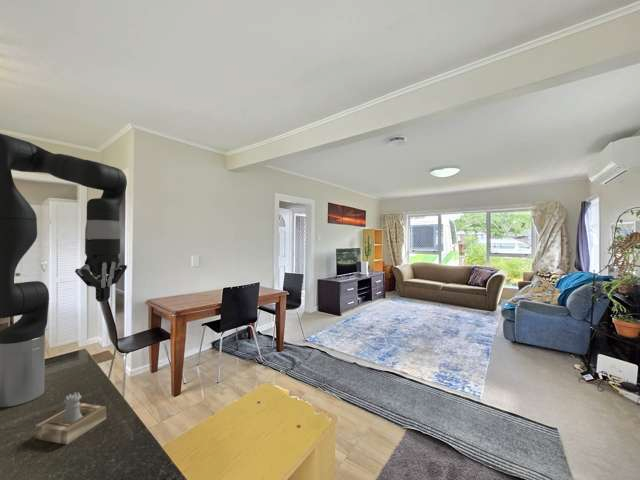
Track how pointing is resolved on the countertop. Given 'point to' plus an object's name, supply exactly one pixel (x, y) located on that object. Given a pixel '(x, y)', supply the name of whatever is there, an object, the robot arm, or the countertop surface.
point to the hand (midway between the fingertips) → (102, 301)
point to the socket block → (67, 433)
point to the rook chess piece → (72, 408)
